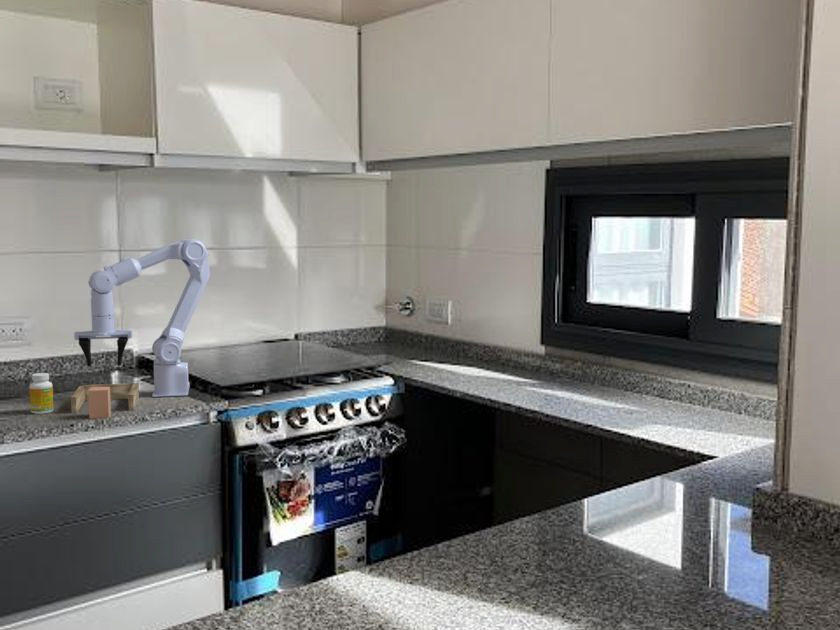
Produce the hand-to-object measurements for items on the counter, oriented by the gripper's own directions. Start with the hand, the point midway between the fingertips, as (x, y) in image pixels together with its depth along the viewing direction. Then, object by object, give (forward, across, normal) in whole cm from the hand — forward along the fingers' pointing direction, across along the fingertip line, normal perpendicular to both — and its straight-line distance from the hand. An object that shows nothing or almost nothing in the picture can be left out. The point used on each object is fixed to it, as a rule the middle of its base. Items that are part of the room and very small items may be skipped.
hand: (104, 365), depth 235 cm
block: (+10, +1, -20) cm, 22 cm away
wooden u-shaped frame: (+9, +1, -7) cm, 12 cm away
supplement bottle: (+10, -14, -12) cm, 21 cm away
